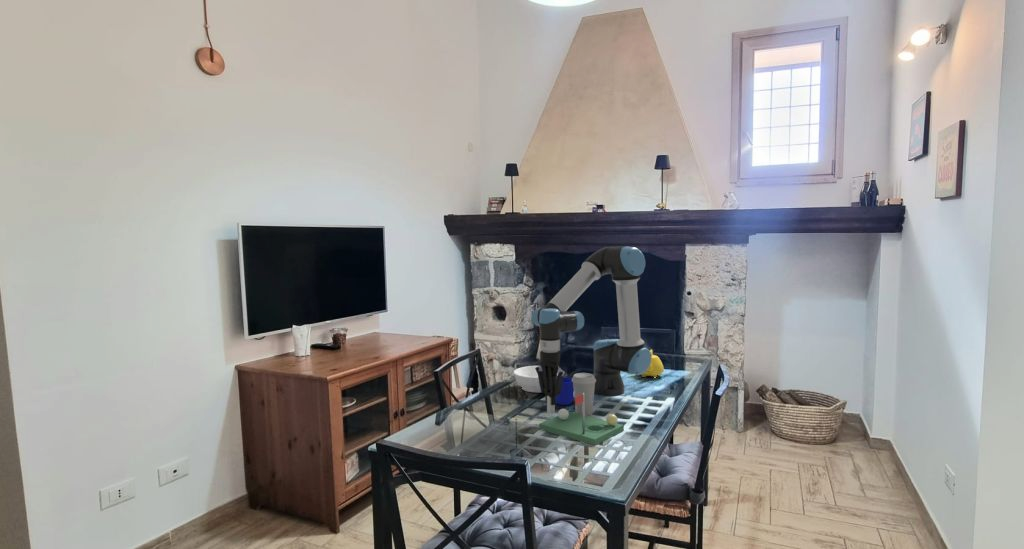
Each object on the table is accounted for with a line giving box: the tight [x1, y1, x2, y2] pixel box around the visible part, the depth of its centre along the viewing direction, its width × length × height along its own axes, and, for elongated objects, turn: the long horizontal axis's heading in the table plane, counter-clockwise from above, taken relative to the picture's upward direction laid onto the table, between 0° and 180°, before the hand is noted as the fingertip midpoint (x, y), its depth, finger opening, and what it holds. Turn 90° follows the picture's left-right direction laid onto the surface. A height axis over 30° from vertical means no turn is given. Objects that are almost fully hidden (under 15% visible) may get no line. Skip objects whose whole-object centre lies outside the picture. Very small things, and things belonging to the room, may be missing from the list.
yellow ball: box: [605, 413, 619, 426], centre depth 193 cm, size 4×4×4 cm
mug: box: [556, 376, 575, 406], centre depth 226 cm, size 8×12×10 cm
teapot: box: [641, 349, 665, 378], centre depth 268 cm, size 20×15×12 cm
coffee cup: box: [571, 372, 596, 416], centre depth 213 cm, size 10×10×15 cm
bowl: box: [513, 365, 558, 393], centre depth 249 cm, size 22×22×8 cm
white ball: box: [557, 408, 569, 420], centre depth 200 cm, size 4×4×4 cm
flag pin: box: [574, 393, 585, 434], centre depth 184 cm, size 5×1×14 cm, turn 137°
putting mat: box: [538, 411, 625, 446], centre depth 195 cm, size 18×24×2 cm
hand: (550, 412), depth 204 cm, fingers closed
